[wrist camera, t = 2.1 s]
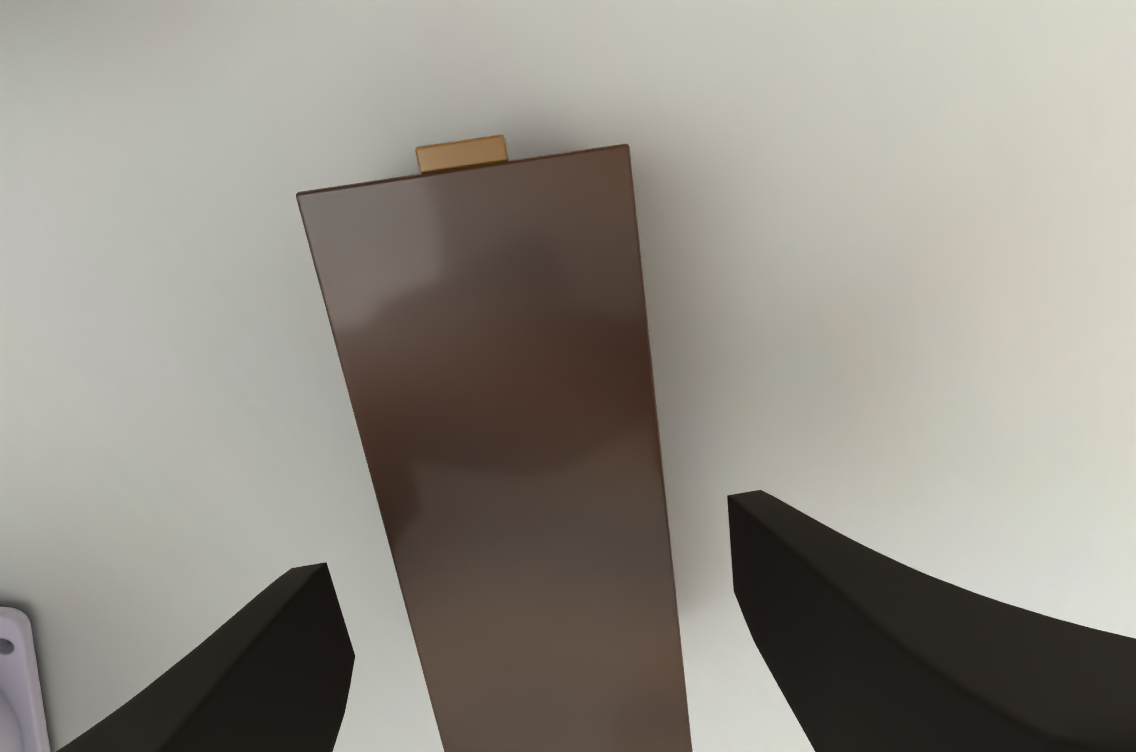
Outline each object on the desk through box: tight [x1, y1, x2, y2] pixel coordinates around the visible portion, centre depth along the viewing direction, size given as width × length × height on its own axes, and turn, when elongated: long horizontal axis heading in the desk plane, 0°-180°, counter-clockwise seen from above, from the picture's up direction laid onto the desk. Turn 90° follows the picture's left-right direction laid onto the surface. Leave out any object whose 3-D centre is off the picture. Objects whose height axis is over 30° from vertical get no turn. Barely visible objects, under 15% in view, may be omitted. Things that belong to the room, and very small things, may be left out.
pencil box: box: [296, 135, 692, 752], centre depth 14 cm, size 14×5×6 cm, turn 8°
